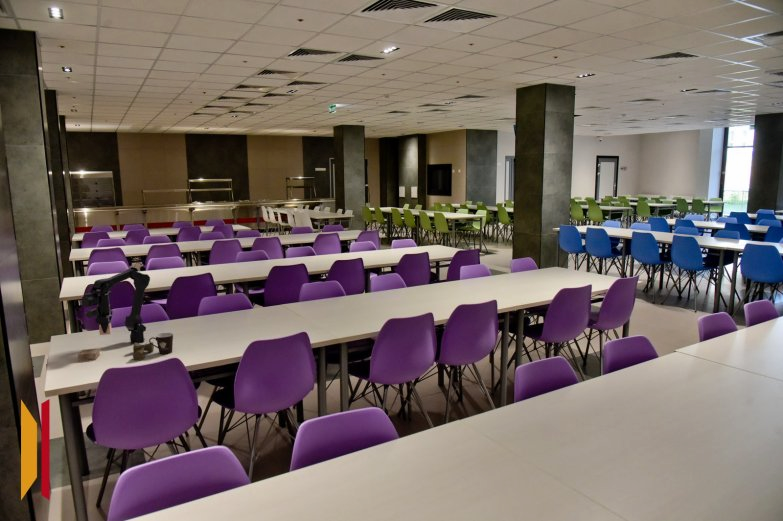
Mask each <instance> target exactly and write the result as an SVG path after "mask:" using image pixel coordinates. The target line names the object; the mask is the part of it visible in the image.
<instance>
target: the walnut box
mask: <svg viewBox="0 0 783 521" xmlns="http://www.w3.org/2000/svg"><path fill="white" fill-rule="evenodd" d="M100 356H101V354H100V348H87V349H82V350H81V351H80V352H78V354H77V359H78V360H77V361H78V362H79V361H80V362H88V361H89V360H91V361H97V360H98V358H99V357H100Z"/></svg>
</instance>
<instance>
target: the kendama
mask: <svg viewBox="0 0 783 521" xmlns="http://www.w3.org/2000/svg"><path fill="white" fill-rule="evenodd" d="M150 342H151V343H152V344H153V345H155V344H154V342H152V341H150ZM150 342H148V343H144V344H140V343H136V342H135V343H133V347H132V349H133V354H132V358H133V360H134V361H137V362H138V361H142V360H143V359H144V356H145V354H146V352H149V353H151V352H152V353H154V349H155V346H153V345H151V344H150Z"/></svg>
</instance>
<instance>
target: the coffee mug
mask: <svg viewBox="0 0 783 521" xmlns="http://www.w3.org/2000/svg"><path fill="white" fill-rule="evenodd" d="M152 339H155V341H156V345H155V344H154V343H153V344H154V345H153V344H152V343H151V342H152V341H151V340H152ZM173 342H174V333H173V332H160V333H157V334H156V335H155V337H154V336H151V337H150V338H149V340H148V343H150V344H151V345H153V346H154V348H156V349H158V353H159V355H161V356H164V355H170V354H173V346H174V345H173Z"/></svg>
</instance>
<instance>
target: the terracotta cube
mask: <svg viewBox="0 0 783 521" xmlns="http://www.w3.org/2000/svg"><path fill="white" fill-rule="evenodd" d="M98 328H99V330H98V331H99V335H100V336H104V335H105V336H106V335H112V334H111V333H112V332H113V330H112V322H110V323H109V325H108V328H107V331H106V333H103V330H102V327H101V325H100V324H99V326H98Z"/></svg>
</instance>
